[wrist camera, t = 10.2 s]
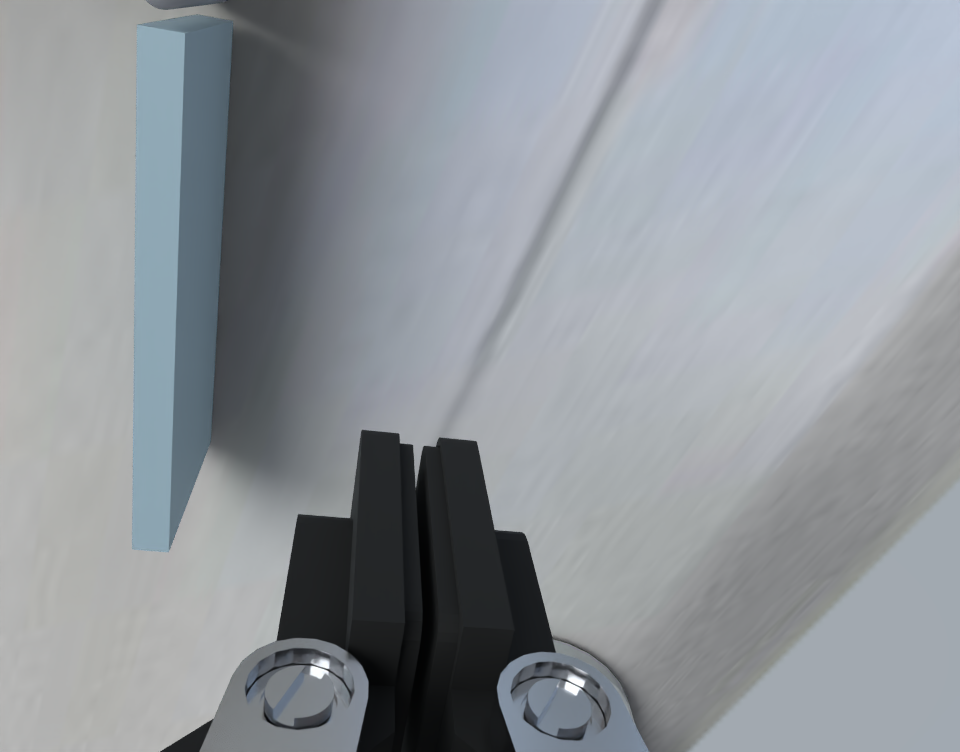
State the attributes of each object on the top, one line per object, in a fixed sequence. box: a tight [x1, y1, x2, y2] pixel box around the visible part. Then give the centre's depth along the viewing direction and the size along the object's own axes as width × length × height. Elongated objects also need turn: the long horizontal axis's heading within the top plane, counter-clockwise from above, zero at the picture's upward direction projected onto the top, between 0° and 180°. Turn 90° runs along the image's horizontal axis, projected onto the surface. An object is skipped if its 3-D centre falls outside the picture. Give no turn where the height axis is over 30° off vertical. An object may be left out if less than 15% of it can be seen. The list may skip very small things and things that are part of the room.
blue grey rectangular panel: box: [132, 0, 233, 552], centre depth 23 cm, size 1×15×6 cm, turn 169°
